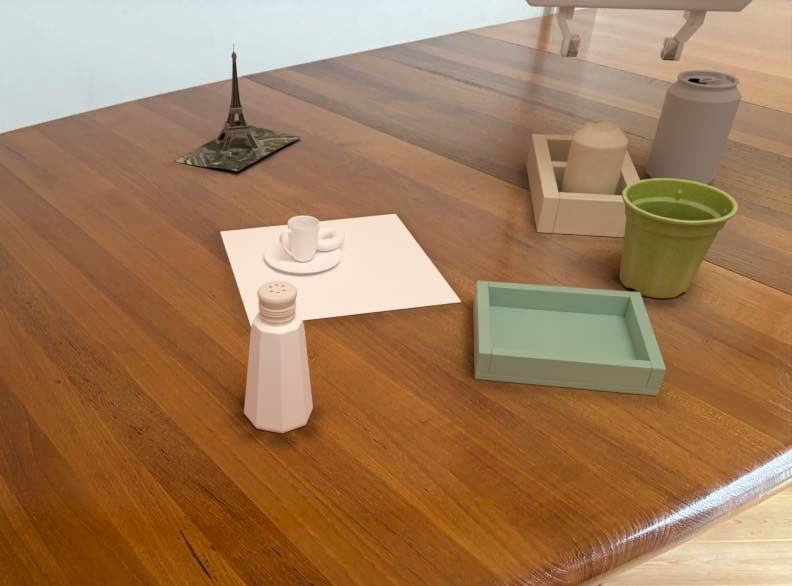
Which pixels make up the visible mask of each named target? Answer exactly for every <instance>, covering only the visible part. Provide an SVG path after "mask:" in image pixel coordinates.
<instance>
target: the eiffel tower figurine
mask: <svg viewBox="0 0 792 586" xmlns="http://www.w3.org/2000/svg"><path fill="white" fill-rule="evenodd" d="M232 45H233V46H232V47H233V49H232V53H231V55H230V57H231V59H232V61H231V63H232V64H231V66H232V67H231V95H230V96H231V97H230V98H231V99H230V104H229V105H228V106H229V111H228V116H227V119H226V120H225V121H224V126H223V128H222V129H221V131H220V132H219V135H218V136H217V137H215V138H214V139H212V140H210V141H208V142H206V143H204V144H202V145H200V146H198V147H197V148H195V149H194V150H191V151H190V152H189V153H187V154H185V155H183V156H181V157H179V158H178V159H176V160H175V161H174V162H176V163H181V164H186V165H192V166H198V167H205V168H214V169H216V168H217V169H222V170H223V169H225V170H229V171H235V172H239V171H241V170H242V169H244V168H246V167H248V166H250V165H253V164H254V163H255V162H257V161H260V160H261V159H263V158H264V157H266V156H268V155H269V154H272V153H274V152H275V151H277V150H279V149H281V148H283V147H284V146H287V145H289V144H291V143H293V142H295V141H298V140H299V139H301V138H302V137H301V136H299V135H298V136H297V135H293V134H288V133H284V132H280V131H275V130H272V129H267V128H262V127H260V126H254V125H250V124H248V122H247V120H246V119H245V116H244V112H243V108H244V107H243V106H242V103H241V98H240V97H241V96H240V89H239V79H238V69H237V68H238V67H237V53H236V52H235V43H233V44H232ZM236 115H238V119H236ZM235 119H236V120H235Z"/></svg>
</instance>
